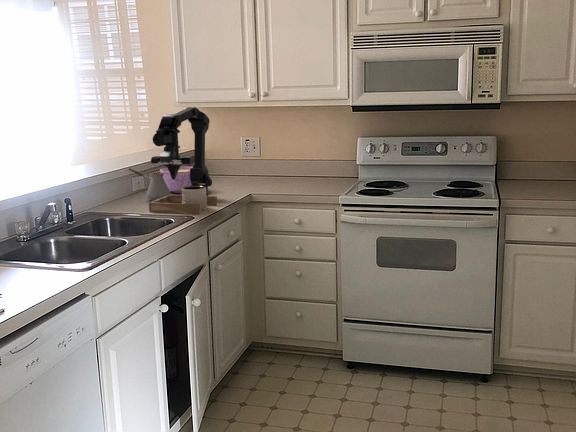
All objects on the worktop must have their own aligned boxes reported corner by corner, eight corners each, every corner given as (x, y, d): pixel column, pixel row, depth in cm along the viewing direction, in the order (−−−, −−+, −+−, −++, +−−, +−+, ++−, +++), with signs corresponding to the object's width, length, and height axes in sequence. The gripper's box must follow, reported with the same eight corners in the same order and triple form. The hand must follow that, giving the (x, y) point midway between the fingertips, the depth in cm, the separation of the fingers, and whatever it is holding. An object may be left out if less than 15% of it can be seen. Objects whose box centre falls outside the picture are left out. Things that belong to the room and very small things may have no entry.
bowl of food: (203, 193, 318) (202, 170, 316) (163, 196, 313) (162, 172, 310) (197, 187, 337) (196, 165, 335) (159, 189, 331) (157, 167, 329)
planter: (195, 205, 288) (194, 184, 286) (212, 208, 281) (211, 186, 279) (177, 209, 279) (176, 188, 277) (194, 212, 273) (192, 190, 271)
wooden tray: (170, 203, 294) (169, 194, 293) (217, 205, 288) (216, 196, 287) (149, 211, 275) (148, 202, 275) (199, 214, 269) (198, 204, 268)
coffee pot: (175, 198, 306) (173, 167, 303) (164, 202, 295) (162, 170, 292) (135, 196, 312) (133, 166, 309) (123, 201, 301) (121, 169, 298)
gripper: (143, 145, 272) (145, 181, 275) (183, 146, 267) (185, 182, 270) (155, 143, 282) (158, 177, 286) (194, 143, 277) (196, 178, 280)
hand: (173, 179), depth 280 cm, fingers closed
